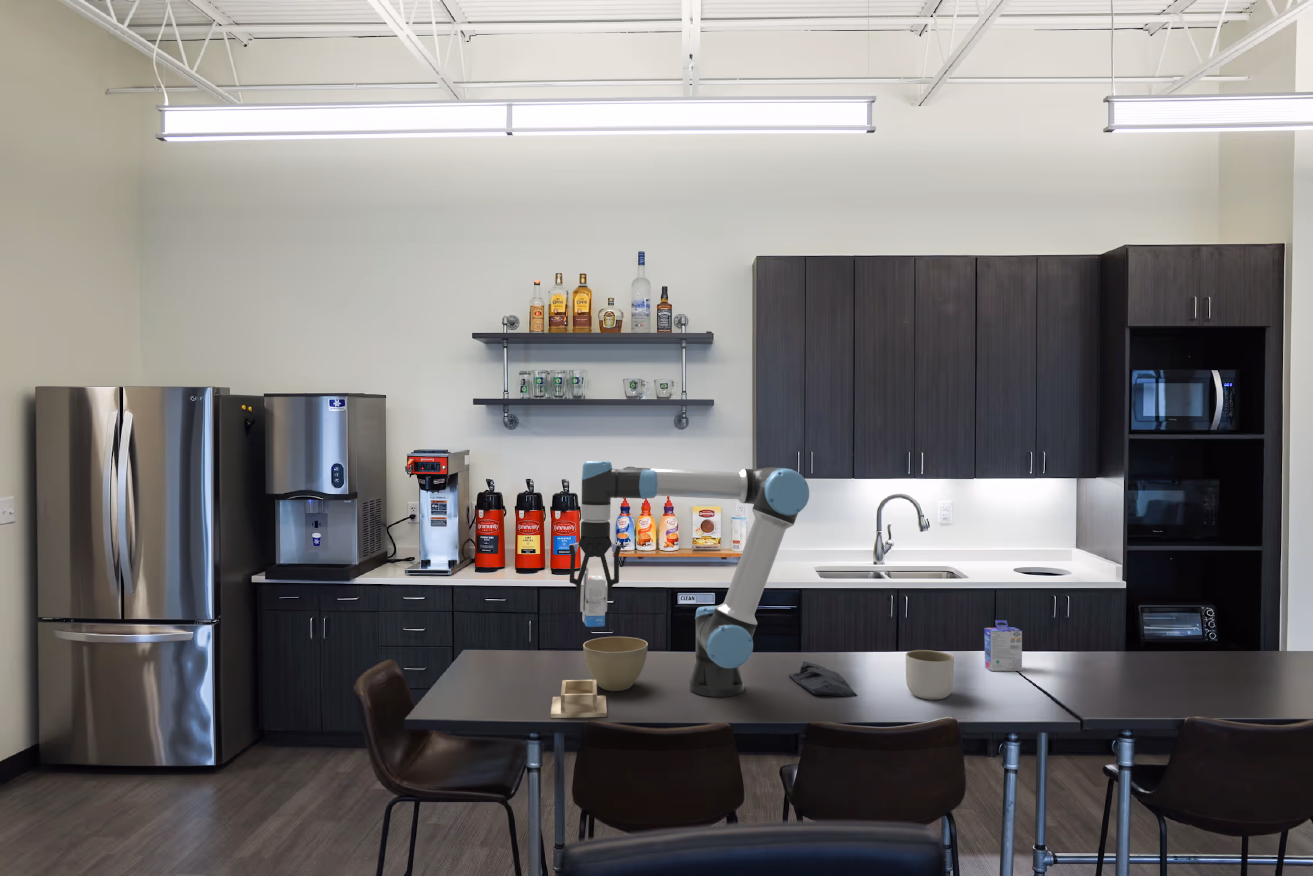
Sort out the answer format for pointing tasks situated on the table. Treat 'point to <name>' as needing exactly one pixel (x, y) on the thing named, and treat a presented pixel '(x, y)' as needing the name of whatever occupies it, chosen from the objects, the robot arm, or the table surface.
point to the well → (578, 700)
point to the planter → (929, 674)
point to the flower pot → (615, 661)
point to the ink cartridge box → (1003, 648)
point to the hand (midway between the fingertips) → (593, 610)
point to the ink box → (593, 600)
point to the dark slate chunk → (821, 681)
